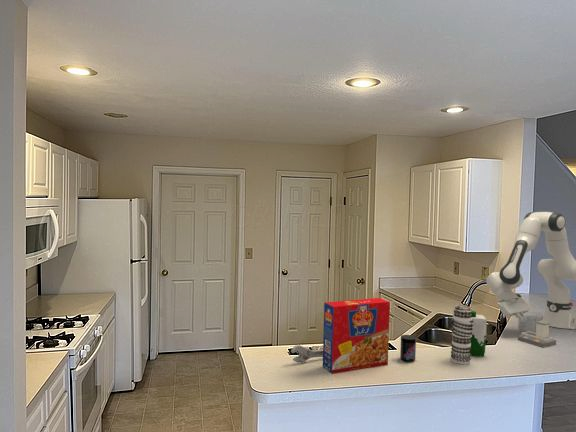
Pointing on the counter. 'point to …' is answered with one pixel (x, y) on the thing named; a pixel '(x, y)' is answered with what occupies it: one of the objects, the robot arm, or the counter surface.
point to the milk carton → (478, 335)
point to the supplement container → (408, 348)
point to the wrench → (305, 354)
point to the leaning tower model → (461, 334)
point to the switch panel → (536, 339)
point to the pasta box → (355, 334)
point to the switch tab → (542, 329)
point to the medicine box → (528, 324)
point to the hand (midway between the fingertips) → (524, 321)
